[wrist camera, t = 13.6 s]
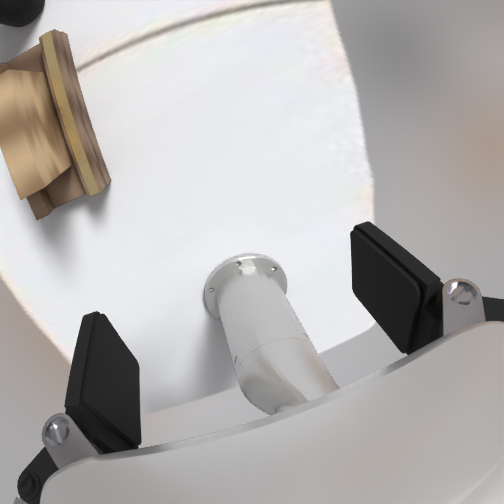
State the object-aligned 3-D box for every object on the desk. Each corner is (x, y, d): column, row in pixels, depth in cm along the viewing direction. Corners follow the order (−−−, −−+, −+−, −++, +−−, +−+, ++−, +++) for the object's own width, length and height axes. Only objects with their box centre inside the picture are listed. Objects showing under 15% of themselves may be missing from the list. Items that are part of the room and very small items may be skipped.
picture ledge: (111, 180, 33) (104, 190, 30) (46, 208, 32) (35, 221, 29) (67, 34, 23) (55, 28, 19) (1, 72, 22) (-15, 72, 18)
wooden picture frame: (72, 164, 29) (44, 187, 22) (50, 175, 29) (19, 200, 21) (44, 72, 23) (7, 69, 15) (22, 85, 23) (-18, 87, 15)
